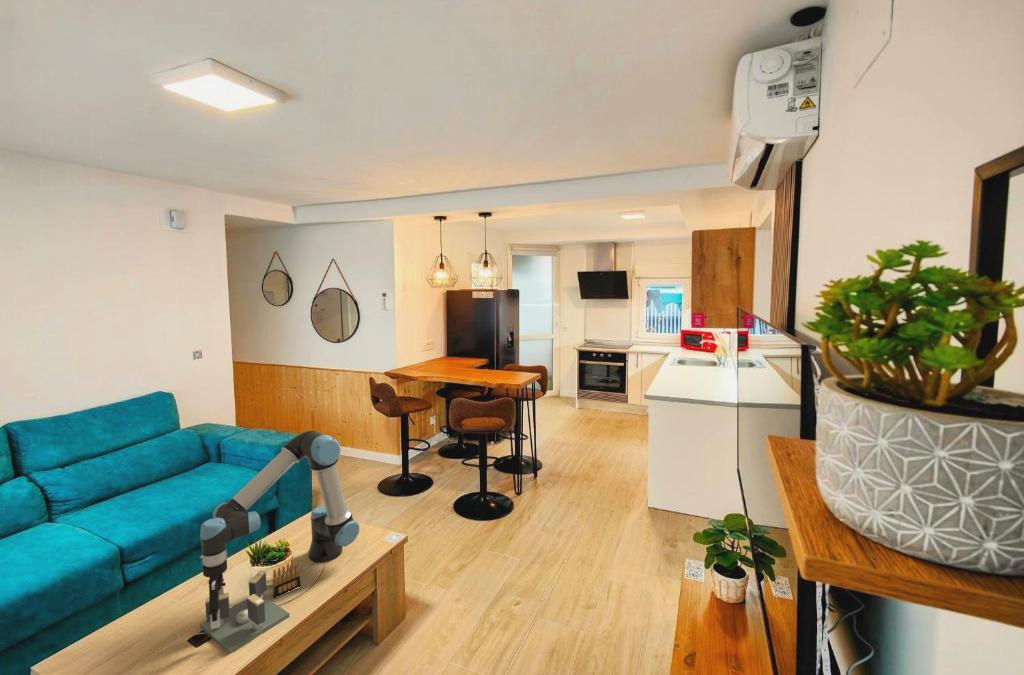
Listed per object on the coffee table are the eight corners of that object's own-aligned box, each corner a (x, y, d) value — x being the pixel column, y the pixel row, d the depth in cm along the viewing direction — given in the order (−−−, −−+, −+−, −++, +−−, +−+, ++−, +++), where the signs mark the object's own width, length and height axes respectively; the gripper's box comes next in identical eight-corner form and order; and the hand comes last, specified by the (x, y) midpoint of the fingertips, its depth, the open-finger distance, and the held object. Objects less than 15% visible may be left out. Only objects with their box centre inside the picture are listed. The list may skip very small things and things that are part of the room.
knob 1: (230, 620, 175) (228, 591, 173) (229, 625, 172) (227, 596, 171) (208, 626, 172) (206, 597, 170) (207, 631, 169) (205, 602, 168)
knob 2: (248, 626, 172) (246, 597, 170) (256, 621, 174) (254, 592, 173) (258, 634, 168) (256, 604, 167) (266, 629, 170) (264, 600, 169)
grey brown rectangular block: (257, 609, 181) (255, 581, 179) (249, 609, 181) (248, 581, 179) (267, 597, 187) (266, 570, 186) (260, 597, 188) (259, 570, 186)
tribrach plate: (259, 595, 191) (258, 586, 190) (289, 616, 179) (288, 607, 178) (200, 628, 173) (199, 617, 172) (229, 654, 161) (228, 643, 160)
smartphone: (185, 640, 167) (228, 614, 180) (186, 641, 167) (228, 615, 180) (196, 647, 163) (239, 621, 176) (196, 649, 163) (239, 622, 176)
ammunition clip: (274, 598, 189) (272, 571, 188) (272, 596, 191) (271, 569, 189) (301, 586, 197) (299, 560, 195) (299, 584, 198) (298, 558, 197)
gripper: (207, 546, 178) (210, 598, 181) (197, 584, 156) (200, 641, 158) (229, 542, 182) (232, 592, 184) (223, 578, 160) (226, 634, 162)
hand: (217, 615), depth 171 cm, fingers open, 13 cm apart
